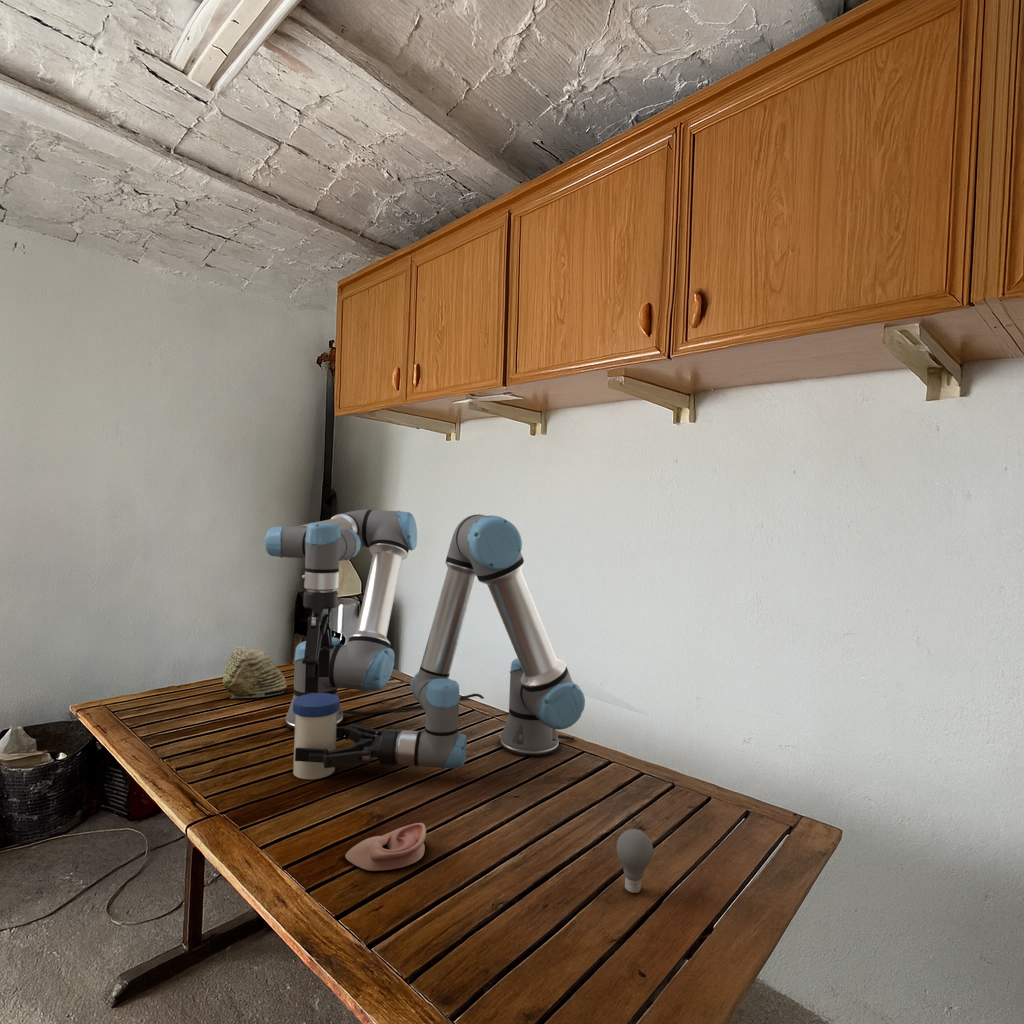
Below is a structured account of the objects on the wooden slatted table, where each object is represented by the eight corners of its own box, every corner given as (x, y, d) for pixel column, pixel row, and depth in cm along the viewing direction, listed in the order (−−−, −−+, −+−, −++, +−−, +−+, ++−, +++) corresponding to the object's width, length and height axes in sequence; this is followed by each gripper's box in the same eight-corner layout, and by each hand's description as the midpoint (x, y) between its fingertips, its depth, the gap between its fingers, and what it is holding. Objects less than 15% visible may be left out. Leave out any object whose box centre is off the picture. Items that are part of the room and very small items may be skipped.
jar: (303, 760, 151) (306, 693, 151) (341, 764, 150) (343, 697, 150) (285, 777, 142) (288, 706, 142) (325, 781, 141) (327, 709, 141)
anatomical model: (337, 842, 109) (366, 811, 120) (336, 865, 109) (365, 832, 120) (410, 854, 106) (432, 821, 117) (409, 878, 106) (432, 842, 118)
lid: (305, 700, 152) (305, 691, 152) (346, 704, 150) (346, 694, 150) (284, 715, 141) (285, 704, 141) (328, 719, 140) (329, 708, 140)
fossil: (218, 695, 195) (220, 647, 195) (278, 685, 208) (279, 640, 207) (228, 703, 189) (230, 653, 188) (289, 692, 201) (290, 645, 201)
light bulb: (610, 879, 108) (613, 822, 108) (644, 879, 109) (647, 822, 109) (619, 902, 102) (622, 840, 102) (655, 901, 103) (658, 840, 103)
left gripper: (315, 582, 157) (312, 669, 157) (290, 597, 133) (287, 700, 134) (346, 583, 158) (343, 670, 158) (327, 598, 134) (323, 700, 134)
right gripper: (384, 788, 132) (285, 782, 133) (408, 743, 157) (324, 738, 158) (386, 753, 132) (286, 747, 133) (410, 713, 157) (325, 708, 158)
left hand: (317, 684), depth 146 cm, fingers open, 11 cm apart
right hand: (306, 742), depth 146 cm, fingers open, 13 cm apart
